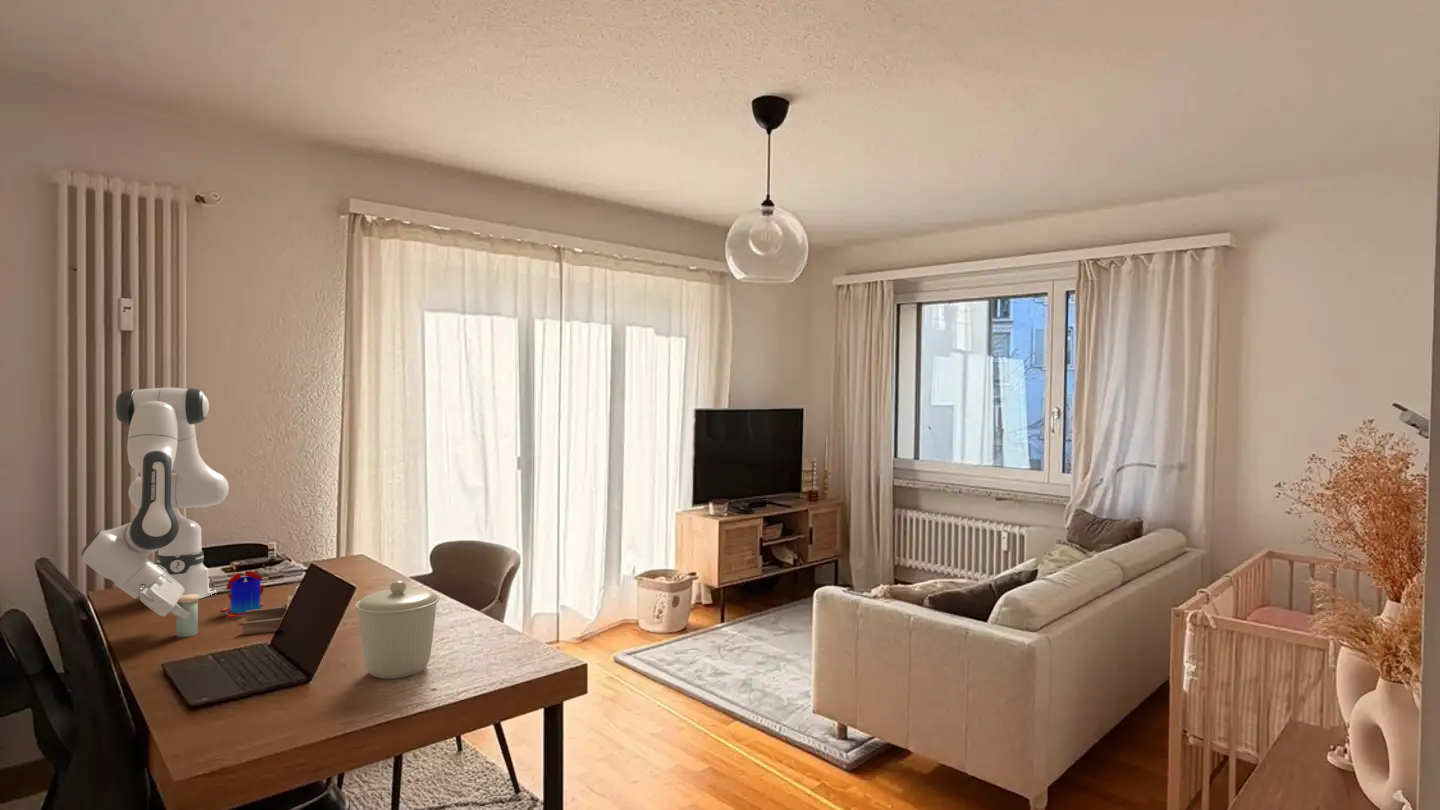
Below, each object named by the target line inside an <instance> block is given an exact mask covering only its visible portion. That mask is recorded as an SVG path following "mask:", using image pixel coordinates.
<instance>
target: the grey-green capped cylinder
mask: <svg viewBox="0 0 1440 810" xmlns="http://www.w3.org/2000/svg"><path fill="white" fill-rule="evenodd" d="M199 601H200V599H199V595H197V594H189V595H182V596H181V597H180V598H179V600H178V602H177V604H178V605H180V607H181V608H183V609H185V610H188V611H189V612H190V613H191V614H190V616H189V617H188V618H187V619H183V618H181V617H180V616H177V615H176V637H178V638H187V637H193V636H196V635H198V633H199V629H198V628H199V627H198V626H199V623H198V621H199V613H198V612H199V609H198V608H199V607H198V605H199Z"/></svg>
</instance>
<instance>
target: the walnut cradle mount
mask: <svg viewBox="0 0 1440 810" xmlns="http://www.w3.org/2000/svg"><path fill="white" fill-rule="evenodd" d="M293 596H294V593H293V594H292V593H291V594H288V595H287V599H286V600H287V602H286V604H284V606H276V607H266V608H263V609H256V610H247V611H246V616H245V621H243V622H242V636H244V635H252V634H253V635H254V634H260V633H269V632H277V631H276V629H277V628H278V626H279V624H280V622H281V620H282V619H283V618H282V617H283V615H284V613H285V612H286V610H287V609H288V607H289V604H290V602H291V600H292V598H293Z"/></svg>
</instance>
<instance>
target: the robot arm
mask: <svg viewBox="0 0 1440 810" xmlns="http://www.w3.org/2000/svg"><path fill="white" fill-rule="evenodd" d="M209 402H210V401H209V399H208V398H207V395H206V393H205V392H204V391H203V390H201V389H198V388H192V387H189V388H180V387H168V386H167V387H154V388H153V387H152V388H141V389H137V388H133V389H131V388H130V389H126V390H123V391H122V392H120V393H119V394H118V395H117V396H116V400H115V401H114V412H115V415H116V417H117V420H118V421H119V422H120V423H122V424H123V425H125V426H129V429H128V433H127V434H128V435H127V443H126V444H127V445H126V448H127V449H126V450H127V451H126V452H127V459H128V464H129V465H130V466H131V467H132V468H133V469H134V470H136V472H138V473H139V475H140V476H137V477H136V478H135V479H133V480H132V482H131V483H130V486H129V487H128V498H129V501H130V503H132V505H133V506H134V507H136V508H137V509H139V511H138V512H137V514H136V515H135V517H134V519H133V520H132V521H131V522H128V523H126V524H124V525H120V526H118V527H113V528H109V529H106V530H100V531H98V532H97V533H95V534H94V536H92V538H91V539H90V540H89V541H88V542H87V543H86V545H85V546H84V547H83V548H82V551H81V558H82V560H83V561H84V562H85V563H86V564H87V566H89V567H90V568H91V569H93V570H94V571H95V572H96V573H97V574H99V575H100V576H102V577H103V578H105V579H108V580H110V581H112V582H113V583H114V584H115V586H116V587H117V588H119V589H120V590H122V591H123V592H124V593H126V594H127V595H129V596H130V597H131V598H133V599H138V598H139V600H140V602H142V603H143V605H145V606H146V607H148V608H149V609H150V610H152V612H154V613H155V614H156V615H158V616H161V617H166V615H168V614H169V613H171V614H172V615H175V616H176V617H177V616H180V617H181V618H183V619H187V618H188V617H189V616H190V614H191V613H190V612H189V611H188V610H185V609H183V608H181V607H180V605H178V604H177V602H178V600H179V598H180V597H181V596H182V595H189V594H197V595H199V600H200V599H203V598H205V597H210V595H211V596H213V595H212V594H214V593H217V590H216V589H215V590H214V591H210V590H211V588H209V583H211V579H210V578H209V568H208V567H207V566H205V564H204V563H203V562H204V560H205V557H204V550H202V547H203V545H202V541H203V540H202V539H203V538H202V528H201V526H200V525H199V523H198V522H196V521H194V520H192V519H191V518H190V519H189V518H187V517H185V516H183V515H182V514H181V512H180V510H179V509H188V508H189V509H192V508H206V507H212V506H215V505H220V504H222V502H224V501H225V500H226V498H227V497H228V495H229V491H230V489H229V488H230V487H229V482H228V480H227V478H226V477H225V476H224V475H222V474H221V473H220V472H217V471H215V470H214V469H212V468H211V467H210V466H208V464H206V462H205V461H204V460H203V458H202V457H201V454H200V452H199V448H198V441H197V434H196V426H195V425H196V424H200V423H202V422H203V421H204V420H206V418H207V416H208V413H209V411H210V403H209ZM157 551H158V553H157V554H156V561H155V562H156V564H155V563H154V562H152V561H151V560H149V558H148V556H149V555H151V554H154V553H155V552H157Z"/></svg>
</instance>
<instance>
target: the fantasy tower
mask: <svg viewBox="0 0 1440 810" xmlns="http://www.w3.org/2000/svg"><path fill="white" fill-rule="evenodd" d="M244 572H245V573H244V575H245V576H243V577H242V575H241V573H240V572H238V573H236V574H234V575H233V576H232V577H230V579H229V580H228V582H227V584H226V587H225V588H226V591H229V590H230V593H229V594H227V598H229V600H230V601H229V602H230V605H229V606H230V607H226V608H223V609H221V610H220V611H219V613H221V612H222V613H223V614H226V616H225V618H224V619H225V620H233V619H236V618H240V617H246V611H247V610H256V609H264V607H265V604H264V603H261V595H262V593H263V592H264V586H265V584H261V581H263V580H264V579H263V578H262V576H261V575H260V574H259V573H258V572H255V571H252V570H245V571H244Z"/></svg>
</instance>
